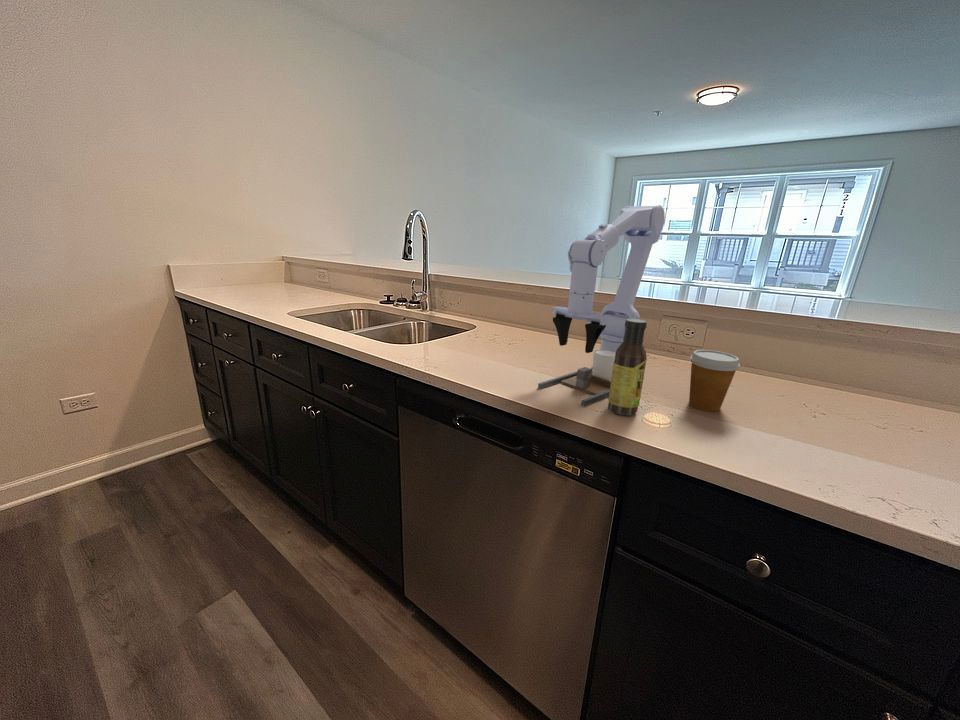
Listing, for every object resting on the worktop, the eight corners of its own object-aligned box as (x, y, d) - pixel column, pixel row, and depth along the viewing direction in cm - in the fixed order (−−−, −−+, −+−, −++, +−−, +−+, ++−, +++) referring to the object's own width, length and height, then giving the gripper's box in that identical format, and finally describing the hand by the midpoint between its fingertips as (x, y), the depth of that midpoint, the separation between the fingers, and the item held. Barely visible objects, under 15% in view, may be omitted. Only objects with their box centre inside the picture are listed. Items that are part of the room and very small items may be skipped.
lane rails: (581, 373, 108) (582, 369, 108) (626, 388, 98) (627, 384, 98) (537, 387, 97) (538, 383, 96) (584, 406, 87) (584, 401, 87)
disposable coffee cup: (723, 401, 93) (734, 352, 89) (733, 418, 84) (746, 364, 80) (678, 394, 96) (688, 347, 92) (684, 410, 87) (695, 358, 83)
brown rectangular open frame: (594, 371, 110) (597, 354, 108) (631, 383, 102) (634, 365, 100) (560, 383, 100) (562, 364, 99) (598, 396, 93) (601, 376, 91)
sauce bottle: (638, 419, 82) (654, 325, 76) (606, 414, 84) (620, 322, 77) (636, 407, 88) (651, 318, 82) (607, 402, 89) (619, 316, 83)
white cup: (619, 384, 99) (623, 358, 97) (590, 382, 100) (594, 355, 98) (615, 375, 105) (619, 350, 103) (589, 373, 107) (592, 348, 104)
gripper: (546, 290, 95) (542, 344, 100) (599, 298, 85) (591, 358, 89) (564, 288, 100) (559, 340, 104) (616, 296, 90) (608, 353, 94)
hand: (575, 348), depth 97 cm, fingers open, 7 cm apart
